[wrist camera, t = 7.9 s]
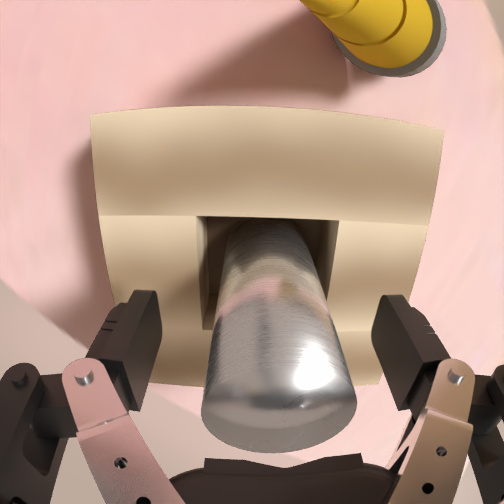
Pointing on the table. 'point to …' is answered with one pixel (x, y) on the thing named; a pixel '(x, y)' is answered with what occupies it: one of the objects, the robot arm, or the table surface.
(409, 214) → the socket block
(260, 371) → the pin
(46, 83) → the table surface
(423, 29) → the drill bit
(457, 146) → the table surface
